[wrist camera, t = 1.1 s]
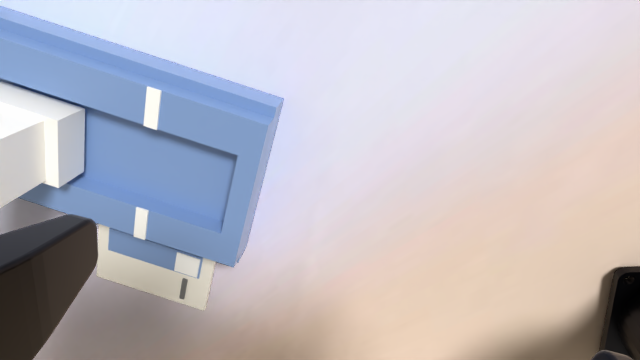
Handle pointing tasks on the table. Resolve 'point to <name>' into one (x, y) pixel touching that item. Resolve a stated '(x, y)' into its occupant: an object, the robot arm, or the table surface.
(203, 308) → the label tile
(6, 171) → the switch tab
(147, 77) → the blue rectangular tray
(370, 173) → the table surface
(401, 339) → the table surface
